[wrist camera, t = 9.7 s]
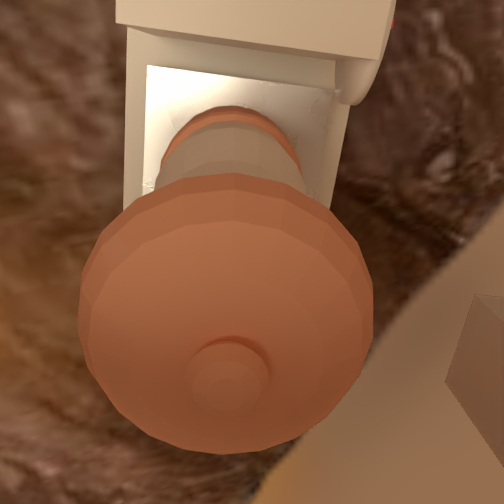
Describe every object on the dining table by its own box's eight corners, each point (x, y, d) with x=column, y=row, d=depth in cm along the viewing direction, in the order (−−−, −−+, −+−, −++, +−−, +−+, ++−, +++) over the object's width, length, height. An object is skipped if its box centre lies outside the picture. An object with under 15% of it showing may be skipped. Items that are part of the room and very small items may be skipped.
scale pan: (301, 254, 29) (303, 259, 29) (143, 237, 28) (140, 242, 28) (331, 89, 25) (334, 90, 25) (150, 65, 25) (147, 65, 24)
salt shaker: (315, 134, 26) (499, 291, 8) (265, 248, 28) (322, 562, 10) (190, 83, 24) (77, 135, 7) (150, 207, 27) (-11, 485, 9)
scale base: (311, 247, 34) (349, 338, 23) (132, 227, 33) (78, 313, 21) (364, -27, 27) (453, -89, 16) (140, -62, 26) (71, -154, 15)
